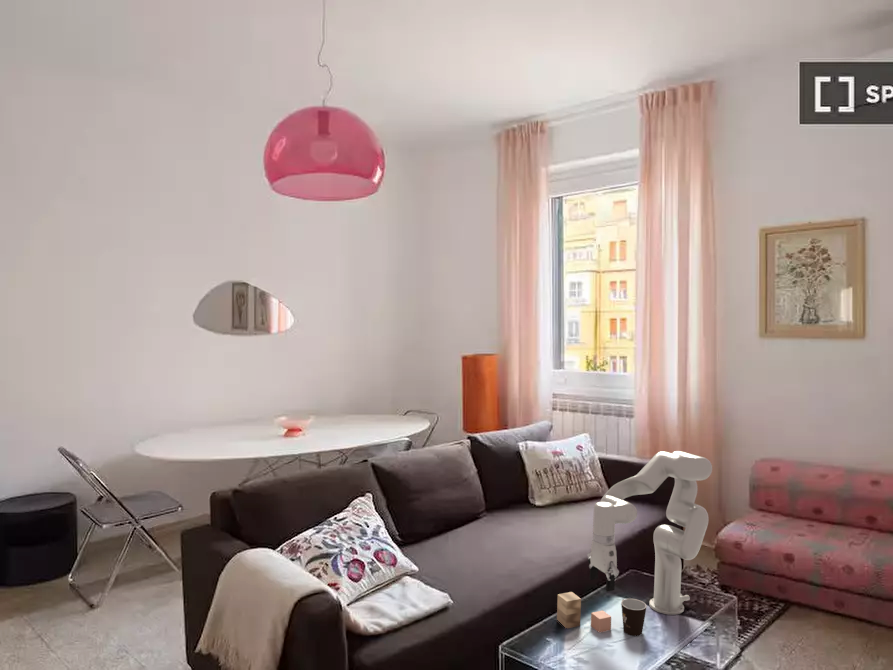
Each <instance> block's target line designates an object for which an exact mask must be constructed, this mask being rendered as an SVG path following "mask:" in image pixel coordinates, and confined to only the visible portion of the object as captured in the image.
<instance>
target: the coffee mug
mask: <svg viewBox="0 0 893 670" xmlns="http://www.w3.org/2000/svg"><path fill="white" fill-rule="evenodd" d="M620 605H621V614H622V615H621V616H622V624H623V625H622V627H623V628H622V629H623V632H624V633H625V634H626V635H628V636H630V637H641V635H643V631H644V626H645V625H644V623H645V618H646V612H647V608H648V607H647V604H646V602H644V601H642V600H639V599H637V598H624V599H622V600H621V601H620Z"/></svg>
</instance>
